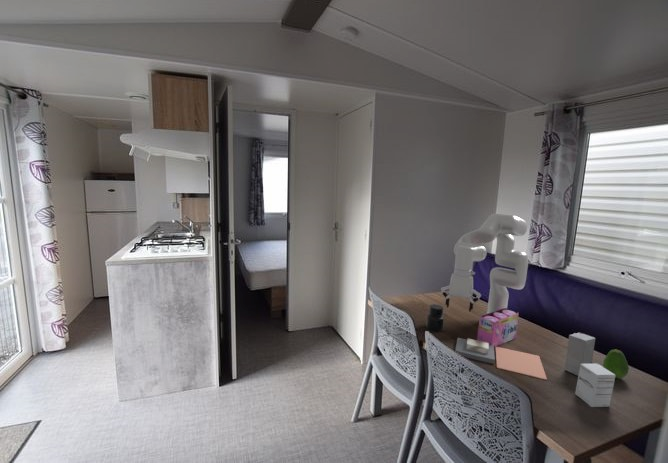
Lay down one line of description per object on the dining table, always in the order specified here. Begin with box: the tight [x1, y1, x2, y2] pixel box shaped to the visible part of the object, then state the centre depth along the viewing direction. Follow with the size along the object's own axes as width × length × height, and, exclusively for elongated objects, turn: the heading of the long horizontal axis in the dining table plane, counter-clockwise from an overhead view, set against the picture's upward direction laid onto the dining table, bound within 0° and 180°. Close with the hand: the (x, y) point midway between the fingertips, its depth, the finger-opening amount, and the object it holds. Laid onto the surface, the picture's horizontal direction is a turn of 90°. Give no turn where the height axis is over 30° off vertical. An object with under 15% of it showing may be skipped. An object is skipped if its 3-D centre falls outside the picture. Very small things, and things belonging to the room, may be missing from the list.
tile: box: [466, 338, 489, 354], centre depth 150 cm, size 9×6×2 cm, turn 66°
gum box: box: [476, 307, 519, 348], centre depth 163 cm, size 24×8×14 cm, turn 123°
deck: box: [455, 337, 496, 365], centre depth 151 cm, size 14×16×2 cm
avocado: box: [602, 348, 629, 379], centre depth 134 cm, size 8×8×12 cm
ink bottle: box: [425, 303, 445, 332], centre depth 173 cm, size 10×9×12 cm
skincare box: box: [564, 332, 596, 377], centre depth 137 cm, size 8×7×16 cm
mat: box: [494, 346, 548, 381], centre depth 144 cm, size 20×18×1 cm
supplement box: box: [574, 362, 616, 408], centre depth 119 cm, size 7×7×13 cm
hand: (458, 308), depth 151 cm, fingers open, 9 cm apart
